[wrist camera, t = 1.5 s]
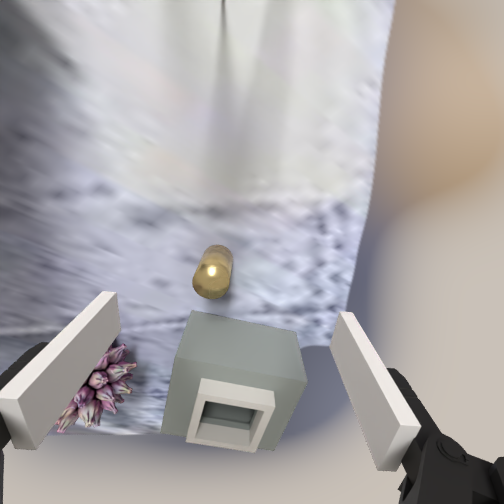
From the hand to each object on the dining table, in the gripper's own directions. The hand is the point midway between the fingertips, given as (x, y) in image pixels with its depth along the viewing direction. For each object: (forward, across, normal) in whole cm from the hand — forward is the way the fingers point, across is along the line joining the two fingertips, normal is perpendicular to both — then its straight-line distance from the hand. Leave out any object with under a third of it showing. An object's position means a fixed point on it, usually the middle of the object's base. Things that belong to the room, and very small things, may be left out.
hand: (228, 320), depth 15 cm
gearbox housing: (+18, +1, -21) cm, 28 cm away
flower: (+18, -18, -21) cm, 34 cm away
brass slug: (+18, -3, -4) cm, 19 cm away
